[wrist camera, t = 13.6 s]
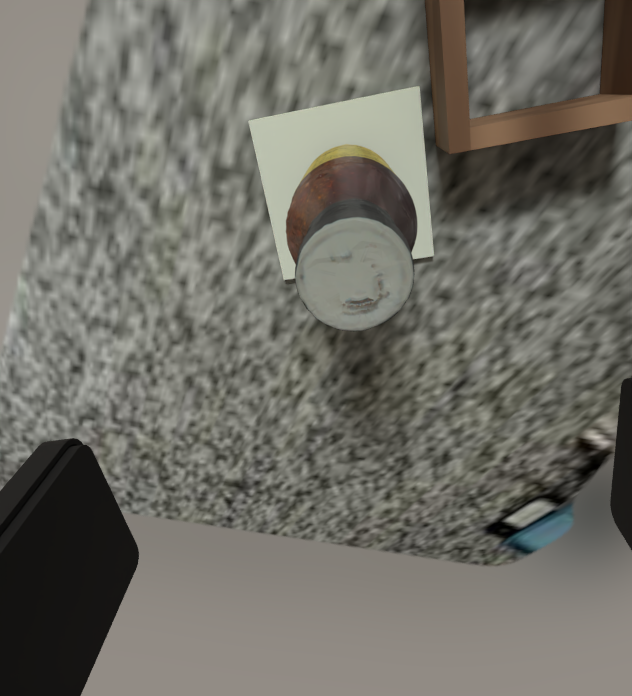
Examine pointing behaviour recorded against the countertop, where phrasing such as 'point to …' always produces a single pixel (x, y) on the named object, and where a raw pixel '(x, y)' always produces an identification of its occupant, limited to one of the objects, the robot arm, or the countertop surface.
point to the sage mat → (335, 130)
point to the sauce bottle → (352, 239)
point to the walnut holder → (572, 115)
